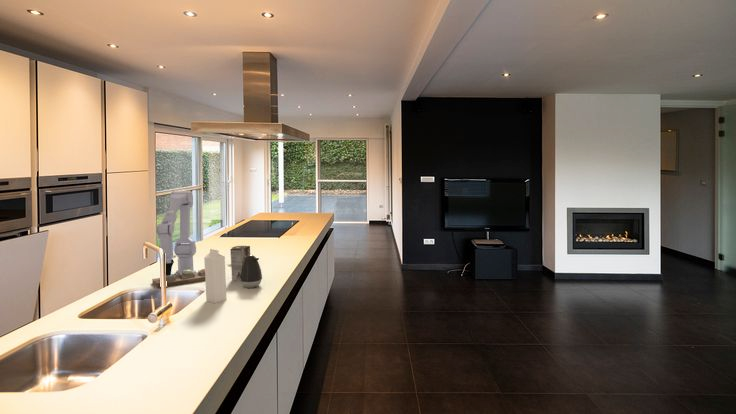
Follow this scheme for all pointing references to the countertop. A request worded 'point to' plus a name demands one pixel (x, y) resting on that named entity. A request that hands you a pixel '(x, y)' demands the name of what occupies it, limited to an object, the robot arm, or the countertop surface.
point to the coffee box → (238, 260)
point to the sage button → (187, 272)
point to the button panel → (181, 279)
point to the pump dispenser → (250, 272)
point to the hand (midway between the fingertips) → (167, 275)
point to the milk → (215, 277)
